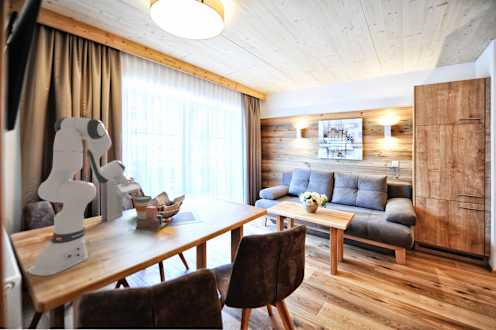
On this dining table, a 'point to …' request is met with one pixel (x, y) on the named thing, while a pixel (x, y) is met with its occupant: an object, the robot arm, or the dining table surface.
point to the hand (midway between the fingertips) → (135, 196)
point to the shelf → (149, 224)
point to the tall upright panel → (110, 202)
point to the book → (151, 212)
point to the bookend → (159, 218)
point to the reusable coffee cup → (142, 205)
